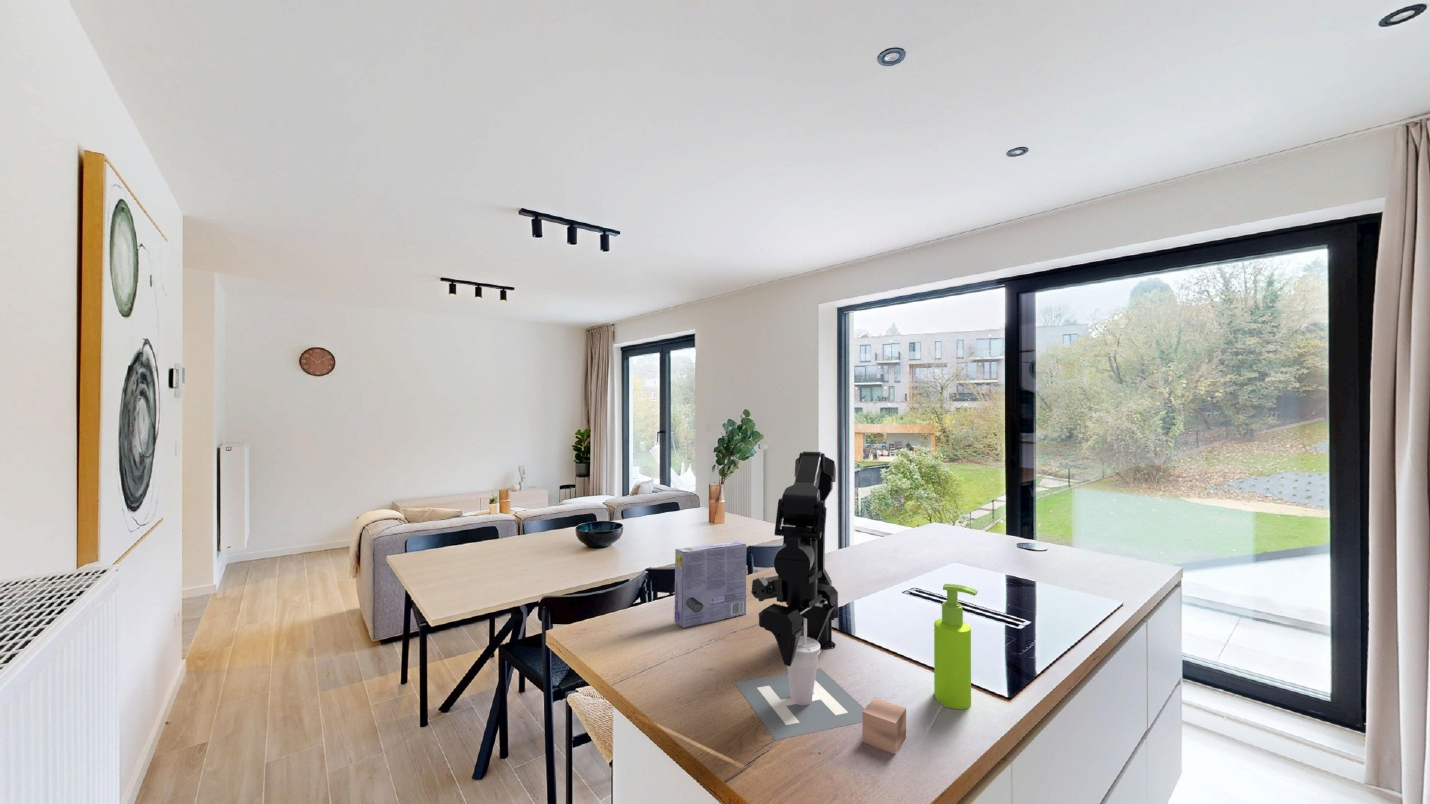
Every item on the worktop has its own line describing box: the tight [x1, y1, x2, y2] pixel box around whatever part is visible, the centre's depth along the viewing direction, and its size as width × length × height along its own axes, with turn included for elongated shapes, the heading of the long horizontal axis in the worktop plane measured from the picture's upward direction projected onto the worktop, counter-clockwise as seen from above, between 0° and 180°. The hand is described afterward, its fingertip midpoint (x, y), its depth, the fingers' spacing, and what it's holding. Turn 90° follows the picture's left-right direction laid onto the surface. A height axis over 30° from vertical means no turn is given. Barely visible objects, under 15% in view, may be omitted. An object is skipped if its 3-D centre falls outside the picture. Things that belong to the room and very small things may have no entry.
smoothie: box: [786, 618, 822, 705], centre depth 92 cm, size 6×6×14 cm
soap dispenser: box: [933, 583, 979, 710], centre depth 93 cm, size 6×7×20 cm
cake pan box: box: [673, 541, 748, 629], centre depth 129 cm, size 19×5×18 cm, turn 121°
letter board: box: [733, 667, 866, 741], centre depth 92 cm, size 18×18×1 cm
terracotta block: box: [861, 697, 907, 755], centre depth 81 cm, size 5×5×5 cm
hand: (800, 655), depth 92 cm, fingers open, 9 cm apart
